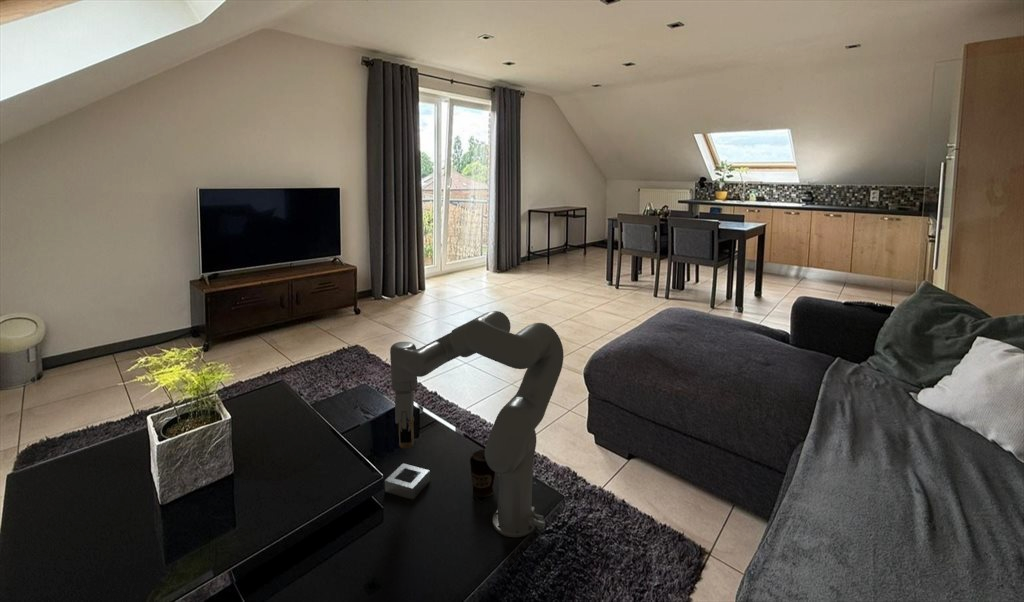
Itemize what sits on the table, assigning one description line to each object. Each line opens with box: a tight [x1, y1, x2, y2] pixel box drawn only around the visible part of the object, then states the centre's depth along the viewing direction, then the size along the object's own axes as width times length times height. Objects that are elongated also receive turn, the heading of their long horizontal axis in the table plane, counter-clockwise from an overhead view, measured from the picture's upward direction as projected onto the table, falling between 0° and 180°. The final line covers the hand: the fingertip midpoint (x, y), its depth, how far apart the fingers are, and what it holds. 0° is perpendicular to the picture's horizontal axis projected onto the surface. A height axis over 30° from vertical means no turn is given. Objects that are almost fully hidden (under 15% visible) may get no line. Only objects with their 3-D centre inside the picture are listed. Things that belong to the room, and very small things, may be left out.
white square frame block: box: [384, 463, 431, 501], centre depth 155 cm, size 10×10×4 cm
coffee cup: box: [469, 449, 496, 498], centre depth 152 cm, size 9×8×13 cm
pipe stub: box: [398, 415, 415, 449], centre depth 150 cm, size 5×5×9 cm
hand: (406, 437), depth 151 cm, fingers closed on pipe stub, 4 cm apart
